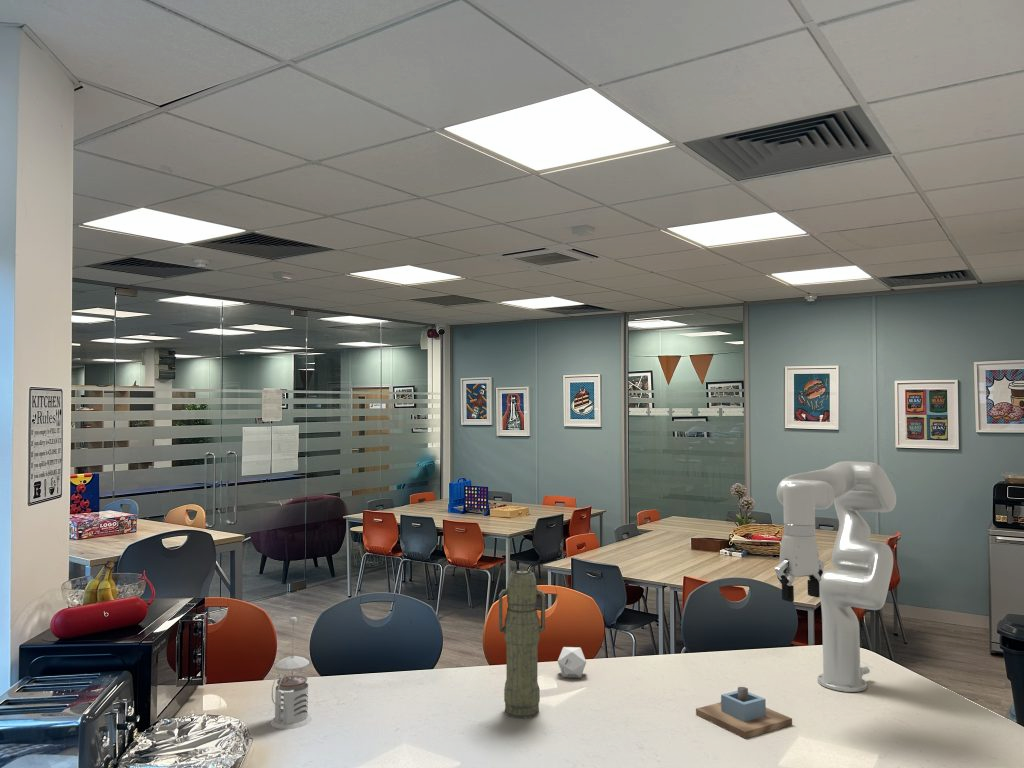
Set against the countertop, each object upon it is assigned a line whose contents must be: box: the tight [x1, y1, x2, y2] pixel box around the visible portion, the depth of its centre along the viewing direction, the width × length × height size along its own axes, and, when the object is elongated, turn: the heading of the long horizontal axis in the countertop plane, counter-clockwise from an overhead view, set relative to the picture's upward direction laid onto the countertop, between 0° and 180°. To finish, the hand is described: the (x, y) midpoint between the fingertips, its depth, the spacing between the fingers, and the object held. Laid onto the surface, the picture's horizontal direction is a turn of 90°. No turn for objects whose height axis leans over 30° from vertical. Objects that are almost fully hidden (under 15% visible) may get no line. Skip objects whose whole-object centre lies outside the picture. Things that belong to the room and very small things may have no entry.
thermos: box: [498, 569, 546, 719], centre depth 185 cm, size 9×12×35 cm
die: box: [557, 646, 587, 679], centre depth 211 cm, size 8×9×10 cm
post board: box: [695, 686, 793, 739], centre depth 179 cm, size 16×16×8 cm
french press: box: [270, 616, 313, 730], centre depth 178 cm, size 10×12×25 cm
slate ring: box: [720, 690, 767, 722], centre depth 179 cm, size 7×7×4 cm
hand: (800, 598), depth 185 cm, fingers open, 9 cm apart
